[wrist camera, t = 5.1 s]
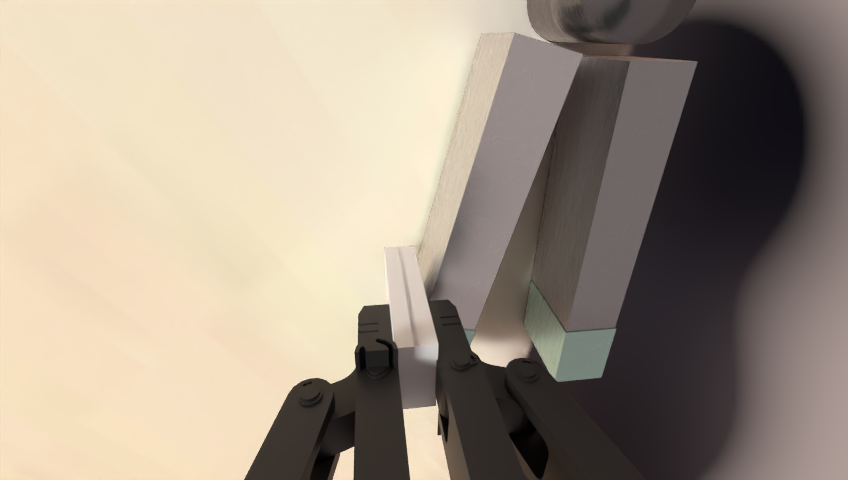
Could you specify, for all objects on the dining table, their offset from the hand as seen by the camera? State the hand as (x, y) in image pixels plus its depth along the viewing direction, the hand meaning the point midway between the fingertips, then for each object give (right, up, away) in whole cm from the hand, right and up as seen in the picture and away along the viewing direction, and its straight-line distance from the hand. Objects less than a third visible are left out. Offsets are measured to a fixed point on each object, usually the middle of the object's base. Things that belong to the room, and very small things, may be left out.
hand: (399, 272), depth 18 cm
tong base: (+7, +4, +1) cm, 9 cm away
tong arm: (+3, +3, 0) cm, 4 cm away
